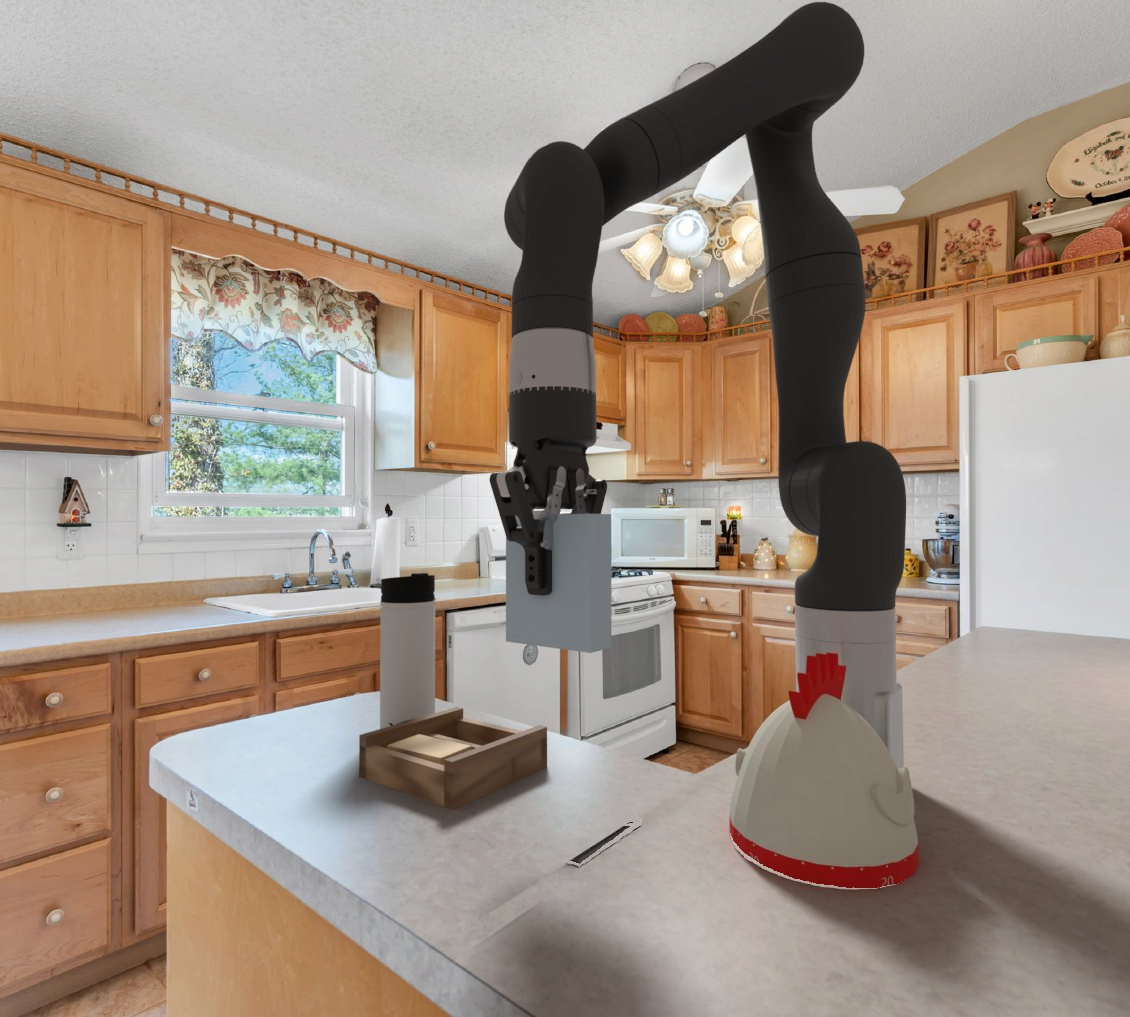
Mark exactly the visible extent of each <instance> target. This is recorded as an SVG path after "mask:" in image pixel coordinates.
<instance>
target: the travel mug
mask: <svg viewBox="0 0 1130 1017" xmlns="http://www.w3.org/2000/svg"><path fill="white" fill-rule="evenodd" d="M435 577H436V576H435V575H434V574H429V573H428V572H420V573H419V572H418V573H411V574H410V576H409V575H408V576H406V575H405V576H398V577H397V576H395V577H388V578H387V577H386V578H382V579H380V593H381V596H380V602H379V603H380V604H379V605H380V609H379V611H380V620H379V621H380V622H379V623H380V624H379V625H380V626H379V627H380V631H379V632H380V636H379V637H380V638H379V639H380V640H379V641H380V643H379V644H380V645H379V648H380V650H379V651H380V653H379V654H380V655H379V657H380V658H379V662H380V664H379V665H380V666H379V668H380V669H379V674H380V675H379V684H380V685H379V729H382V728H386V727H389V726H393V725H396V724H400V723H403V722H407V721H410V720H414V719H417V718H421V717H424V716H428V715H431V714H435V713H436V605H435V604H436V599H435V598H436V597H435V596H436V595H435V591H436V590H435V587H436V584H435V582H436V581H435V580H436V578H435Z"/></svg>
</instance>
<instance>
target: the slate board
mask: <svg viewBox="0 0 1130 1017" xmlns="http://www.w3.org/2000/svg"><path fill="white" fill-rule="evenodd" d="M515 518H516V521H517V524H518V527H521V523H520V520H519V518H518V516H515ZM540 524H541V522H536V527H537V530H538V532H540ZM547 550H552V592H551V594H550V595H544V596H541V595H530V594H529V593H528V591H527V587H526V583H525V550H524V549H523V548H522V546H521V545H520V544H518V543H516V542H510V541H508V540H507V538H506V537H505V642H506V643H515V644H520V645H521V644H522V645H523V644H524V645H529V646H537V647H543V648H552V649H560V650H565V651H574V652H581V653H587V654H592V653H595V652H601V651H603V650H607V649H611V648H612V514H611V513H601V514H558V518H557V520H556V521H555V522H554V523H553V539H552V546H551V548H550V549H547Z"/></svg>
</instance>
